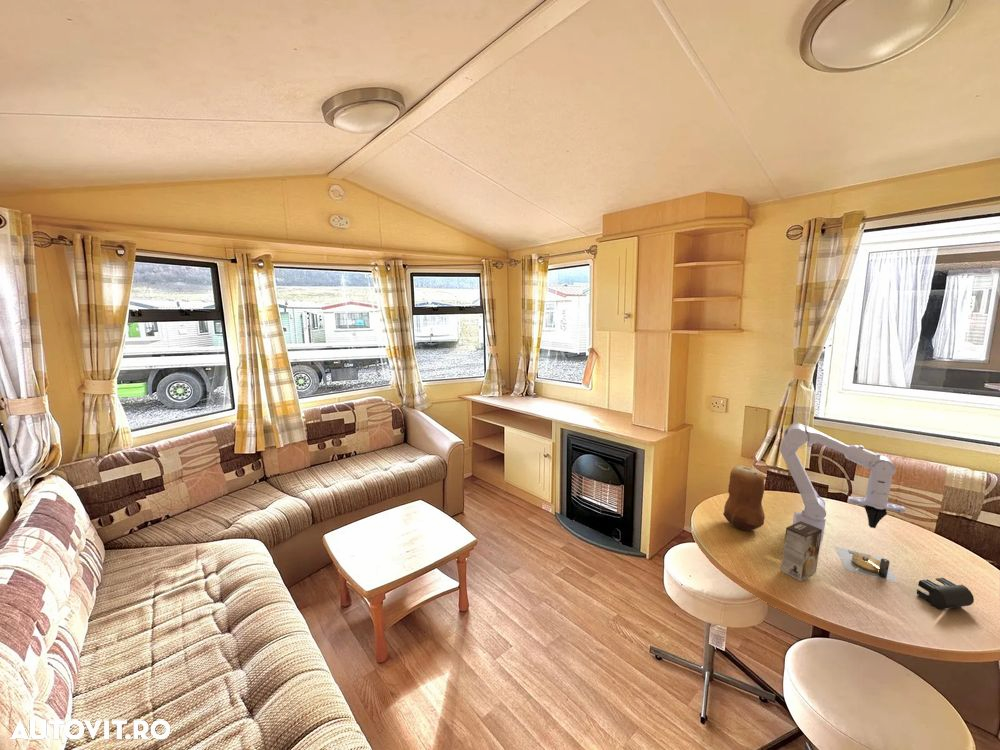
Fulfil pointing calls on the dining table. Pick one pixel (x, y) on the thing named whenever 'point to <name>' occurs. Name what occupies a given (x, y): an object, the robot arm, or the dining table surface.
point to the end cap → (945, 594)
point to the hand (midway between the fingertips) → (871, 526)
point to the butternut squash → (745, 498)
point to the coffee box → (801, 550)
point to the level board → (850, 566)
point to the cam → (871, 564)
